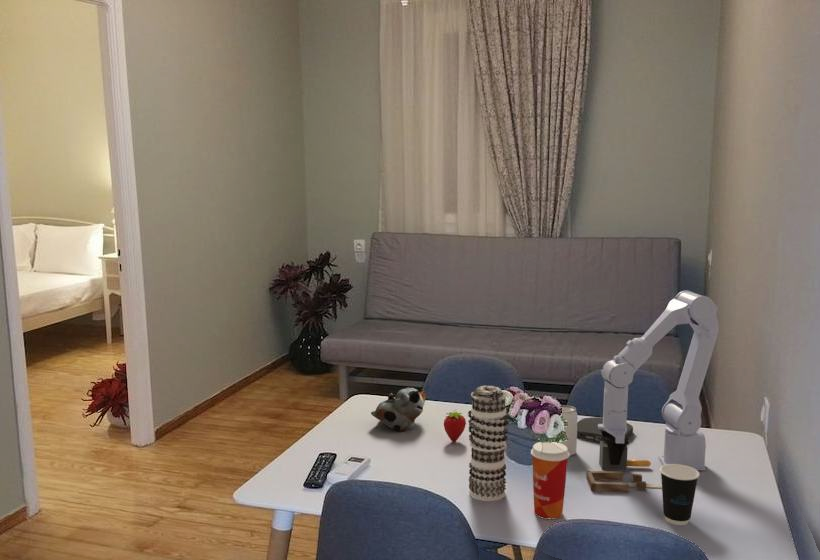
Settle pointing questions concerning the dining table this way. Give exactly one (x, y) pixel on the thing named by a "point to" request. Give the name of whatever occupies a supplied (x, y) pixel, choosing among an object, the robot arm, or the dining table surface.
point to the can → (570, 428)
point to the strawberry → (454, 425)
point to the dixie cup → (678, 492)
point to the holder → (615, 487)
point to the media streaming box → (595, 429)
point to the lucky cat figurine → (401, 409)
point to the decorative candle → (487, 443)
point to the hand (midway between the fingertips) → (612, 460)
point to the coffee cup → (549, 478)
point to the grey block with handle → (624, 462)
